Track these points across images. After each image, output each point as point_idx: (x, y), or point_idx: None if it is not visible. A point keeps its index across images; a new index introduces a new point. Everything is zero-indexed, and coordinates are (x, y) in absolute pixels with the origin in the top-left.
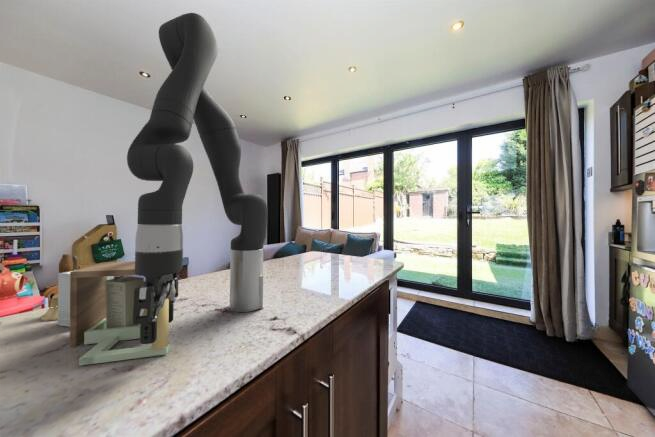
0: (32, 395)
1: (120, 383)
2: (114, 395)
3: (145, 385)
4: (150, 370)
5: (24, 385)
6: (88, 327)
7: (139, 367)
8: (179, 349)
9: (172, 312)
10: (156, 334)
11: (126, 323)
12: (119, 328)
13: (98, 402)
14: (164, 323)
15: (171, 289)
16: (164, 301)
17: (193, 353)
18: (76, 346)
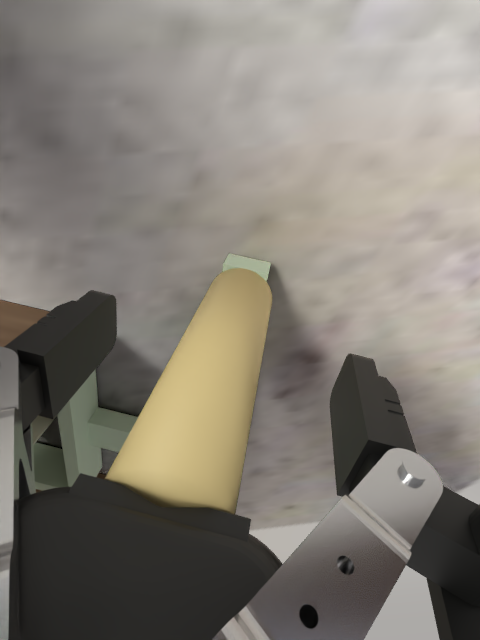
0: (317, 499)
1: (390, 372)
2: (453, 377)
3: (465, 308)
4: (363, 303)
5: (262, 513)
6: (37, 491)
7: (316, 336)
8: (239, 209)
9: (80, 321)
10: (361, 373)
11: (40, 430)
12: (71, 439)
13: (459, 404)
14: (248, 352)
15: (13, 542)
16: (310, 535)
17: (316, 136)
18: (105, 475)
